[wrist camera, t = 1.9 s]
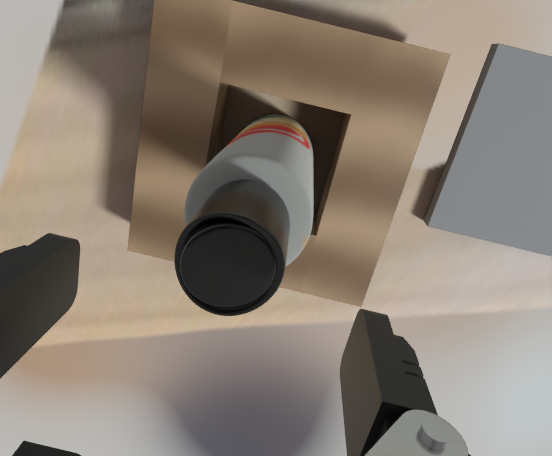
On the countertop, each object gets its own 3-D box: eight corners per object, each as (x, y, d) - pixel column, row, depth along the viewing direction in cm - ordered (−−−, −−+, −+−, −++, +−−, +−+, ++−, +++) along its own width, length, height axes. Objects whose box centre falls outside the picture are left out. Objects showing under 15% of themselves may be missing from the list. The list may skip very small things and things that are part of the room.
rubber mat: (491, 44, 29) (499, 43, 27) (679, 90, 29) (693, 91, 28) (423, 220, 33) (427, 226, 32) (584, 260, 33) (593, 266, 32)
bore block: (176, -9, 29) (155, -19, 25) (433, 55, 29) (450, 54, 25) (146, 230, 36) (127, 250, 32) (356, 281, 36) (361, 306, 32)
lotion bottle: (252, 101, 31) (164, 158, 13) (325, 129, 32) (342, 227, 13) (228, 172, 33) (122, 311, 15) (296, 198, 34) (276, 367, 15)
